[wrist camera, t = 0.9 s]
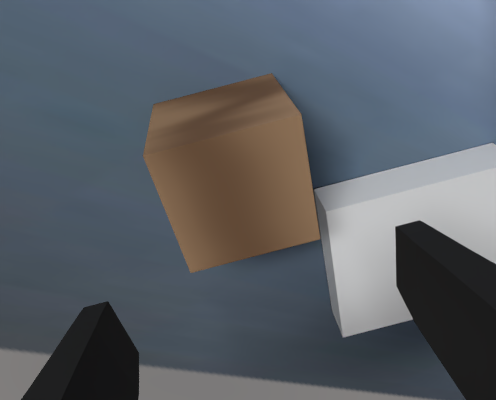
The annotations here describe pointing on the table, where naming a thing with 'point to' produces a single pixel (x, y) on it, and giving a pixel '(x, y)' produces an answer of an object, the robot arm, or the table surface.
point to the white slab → (394, 214)
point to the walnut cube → (232, 172)
